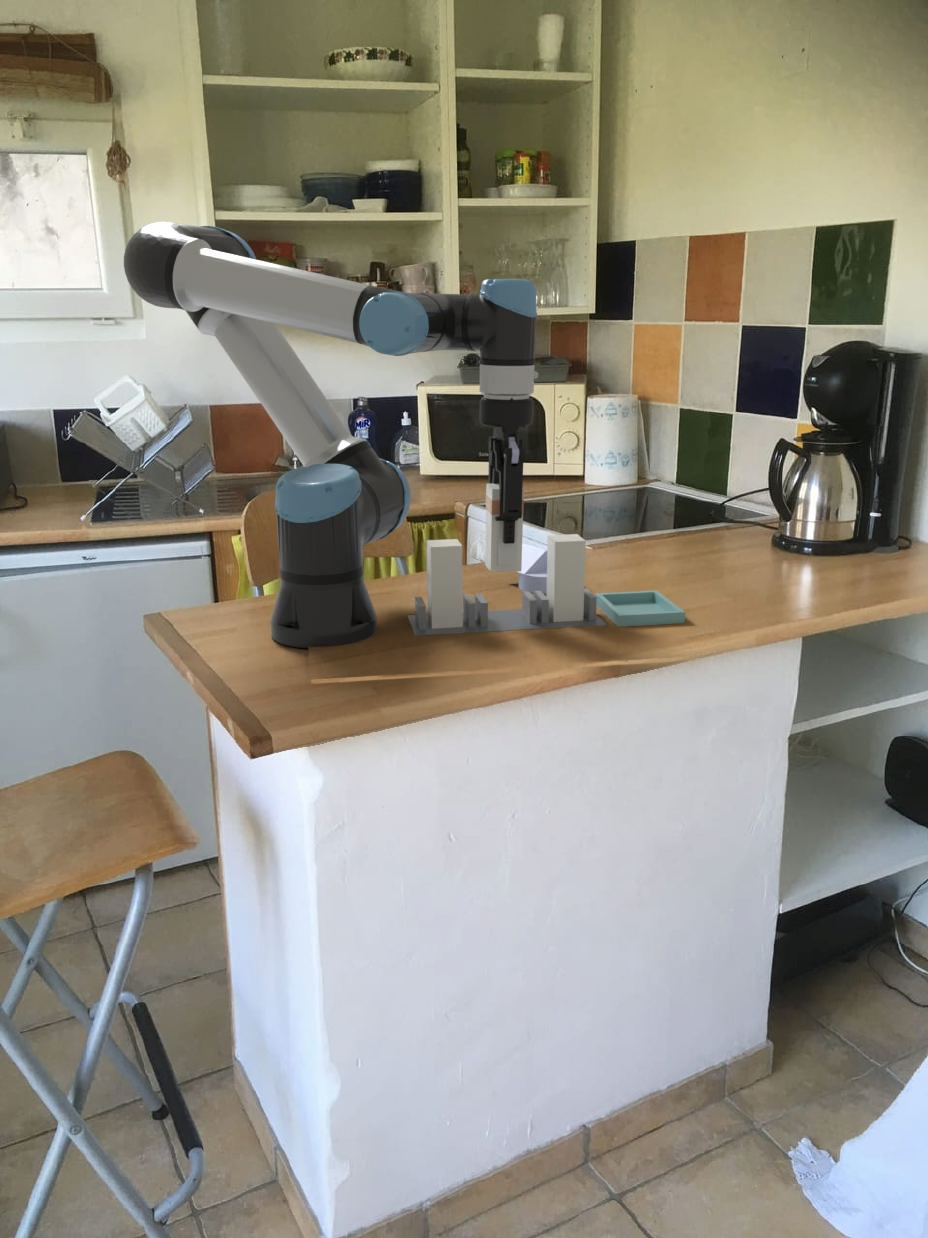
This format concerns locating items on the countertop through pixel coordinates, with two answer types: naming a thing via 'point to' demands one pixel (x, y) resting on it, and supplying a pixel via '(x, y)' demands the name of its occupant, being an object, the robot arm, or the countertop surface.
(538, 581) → the wedge on round base
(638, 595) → the tray
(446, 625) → the block
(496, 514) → the block
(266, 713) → the countertop surface
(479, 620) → the holder
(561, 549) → the block
